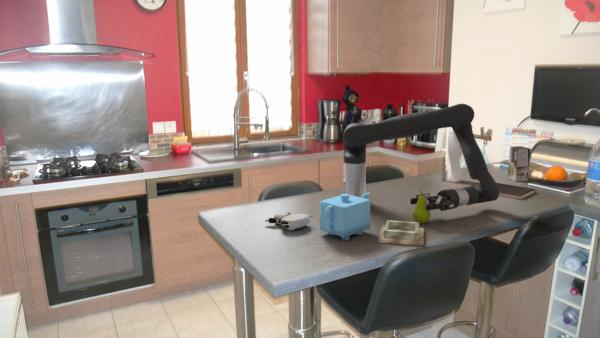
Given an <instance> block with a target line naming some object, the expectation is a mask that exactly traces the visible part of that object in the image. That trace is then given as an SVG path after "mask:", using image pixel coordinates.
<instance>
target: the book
mask: <svg viewBox="0 0 600 338" xmlns="http://www.w3.org/2000/svg"><path fill="white" fill-rule="evenodd" d="M496 183H497V185H498V187H499V192H500V193H499V197H504V198H511V199H516V200H521V199H524V198H526V197H528V196H530V195H532V194H534V193H536V189H535V188H530V187H525V186H519V185H512V184H508V183H507V184H506V183H500V182H496ZM477 185H481V183H480V182H477V183H475V184H472V185H470V186H469V185H468V187H473V186H477Z"/></svg>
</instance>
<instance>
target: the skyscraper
mask: <svg viewBox="0 0 600 338" xmlns="http://www.w3.org/2000/svg"><path fill="white" fill-rule="evenodd" d="M447 154H448V161H449V162H448V167H447V164H446V158H443V165H442V175H441V176H442V178H441V182H445V183H452V184H455V183H459V182H461V181H462V169H461V168H462V167H461V158H462V155H463V153H462V150H461V147H460V144H459V141H458V139H457V137H456V135H455V133H454V131H453V129H452V127H449V132H448V140H447ZM446 171H447V172H446Z"/></svg>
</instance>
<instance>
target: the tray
mask: <svg viewBox="0 0 600 338" xmlns="http://www.w3.org/2000/svg"><path fill="white" fill-rule="evenodd" d="M424 235H425V227H420V223H419V222H417V221H407V220H406V221H404V220H403V221H402V220H391V219H387V220H386V223H385V225H384V224H382V226H381V230H380V232H379V235H378V236H379V237H378V243H381V244H382V243H383V244H395V245H396V244H398V245H408V246H410V245H411V246H424V238H425V237H424Z"/></svg>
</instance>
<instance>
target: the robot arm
mask: <svg viewBox="0 0 600 338" xmlns="http://www.w3.org/2000/svg"><path fill="white" fill-rule="evenodd" d="M474 118H475V111H474V108H473V107H472V106H471V105H469V104H467V103H458V104H454V105H451V106H448V107H443V108H440V109H435V110H430V111H429V110H428V111H420V112H419V111H418V112H413V113H406V114H401V115H396V116H393V117H390V118H386V119H384V120H381V121H378V122H373V123H366V124H361V123H358V122H353V123H350V124H348V125H347V126H346V127H345V129H344V131H343V135H342V140H343V180H342V194H348V195H352V196H356V197H362V195H363V194H364V193H366V185H367V184H366V180H367V179H366V177H367V176H366V174H367V173H366V172H367V170H366V166H367V165H366V164H367V162H366V161H367V160H366V159H367V144H370V143H375V142H379V141H389V140H399V139H405V138H411V137H416V136H420V135H424V134H426V133H429V132H430V133H431V132H432V131H435V130H439V129H445V128H451V127H452V129H451V130H453V131H454V133H455V135H456V137H457V139H458V141H459V144H460V147H461V150H462V155H463V158H464V159H463V160H464V163H465V166H466V169H467V172H468V174H469V177H470V179H471V180H477V181H478V183H481V185H477V186H473V187H469V186H465V187H464V186H463V187H454V188H453V187H452V188H447V189H442V190H440V191H438V193H437V194H432V195H431V193H428V192H427V193H423V195H424V198H425V203H426V210H427V211H433V210H436V211H439V210H440V212H444V211H445V212H446V211H449V210H455V209H459V208H463V207H467V206H472V205H474V204H482V203H483V204H484V203H487V202H493V201H497V200H498V199H499V198H500V196H499V193H500V192H499V187H498V185H497V183H498V182H496V181H495V178H494V177H493V175H492V174H491V173H490V172H489V169H488V166H487V162H486V160H485V157H484V154H483V152H482V150H481V149H480V146H479V145H478V143H477V140H476V138H475V136H474V131H473V127H472V122H473V121H474ZM421 195H422V193H421V194H416V195H415V197H412V198H410V201H409V202H410V203H409V204H410V205H416V204H417V201H418V199H419V197H420V196H421Z"/></svg>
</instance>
